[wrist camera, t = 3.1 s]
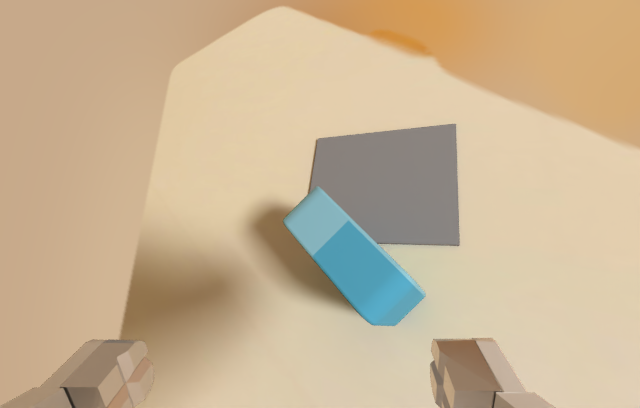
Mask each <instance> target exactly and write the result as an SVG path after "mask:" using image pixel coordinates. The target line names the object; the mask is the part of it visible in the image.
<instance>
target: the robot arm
mask: <svg viewBox="0 0 640 408" xmlns="http://www.w3.org/2000/svg"><path fill="white" fill-rule="evenodd" d="M431 352H432V355H433V358H434V361H433V362H432V363H431V364H430V378H431V387H432V391H433V396H434V399H435V403H436V404H437V405H438V406H439V407H440V408H555V407H554V406H553V405H551V404H550V403H548V402H547V401H545V400H544V399H543V398H541V397H540V396H538V395H537V394H535V393H528V392H527V391H526V389H525V387H524V386H523V384H522V383H521V381H520V379H519V378H518V376H517V374H516V373H515V371H514V370H513V368H512V366H511V365H510V363H509V362H508V360H507V358H506V357H505V355H504V354H503V352H502V350H501V349H500V347H499V345H498V344H497V342H496V341H495V340H494V339H492V338H472V339H433V341H432V347H431ZM147 353H148V349H147V346H146V344H145V342H143V341H140V340H91V341H88V342H86V343H85V344H84V345H83V346H82V347H81V348H80V349H79V350H78V351H76V353H74V354H73V355H72V357H70V358H69V359H68V360H67V361H66V362H65V363H64V364H63V365H62V366H61V367H60V368H59V369H58V370H57V371H56V372H55V373H54V374H53V375H52V376H51V377H50V378H49V379H48V380H47V381H46V382H45V383H44V384H42V385H41V386H40V387H39V388H32V389H31V390H29V391H27V392H25V393H23V394H22V395H20V396H18V397H16V398H14V399H12V400H11V401H9V402H7V403H5V404H3V405H1V406H0V408H135V406H137V405H138V404H139V403H141V402H142V401H143V400H145V398H146V397H147V395H148V393H149V392H150V390H151V387H152V384H153V380H154V368H153V364H152V363H151V362H150V361H149V360H148V359H147V358H146V357H145V356H146V354H147Z"/></svg>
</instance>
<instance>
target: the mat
mask: <svg viewBox="0 0 640 408" xmlns="http://www.w3.org/2000/svg"><path fill="white" fill-rule="evenodd" d="M316 186H319V187H320V188H321V189H322V190H323V191H324V192H325V193H326V194H327V195H328V196H329V197H330V198H331V199H332V200H333V201H334V202H335V203H336V204H338V205H339V206H340V207H341V208H342V209H343V210H344V211H345V212H346V213H347V214H348V215H349V216H350V217H351V218H352V219H353V220H354V221H355V222H356V223H357V224H358V225H359V226H360V227H361V228H362V229H363V230H364V231H365V232H366V233H367V234H368V235H369V236H370V237H371V238H372V239H373V240H374V241H375V242H376V243H377V244H412V245H449V246H459V213H458V181H457V149H456V124H448V125H439V126H430V127H421V128H411V129H402V130H393V131H384V132H375V133H365V134H356V135H347V136H338V137H328V138H319V139H318V141H317V148H316V154H315V161H314V168H313V174H312V181H311V187H310V192H311V191H312V190H313V189H314V188H315V187H316Z"/></svg>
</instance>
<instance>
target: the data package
mask: <svg viewBox="0 0 640 408" xmlns="http://www.w3.org/2000/svg"><path fill="white" fill-rule="evenodd" d="M283 223H284V225H285V226H286V227H287V229H288V230H289V231H290V232H291V234H292V235H293V236H294V237H295V238H296V239H297V241H298V242H299V243H300V244H301V245H302V247H303V248H304V249H305V250H306V251H307V253H308V254H309V255H310V256H311V257H312V259H313V260H314V261H315V262H316V263H317V265H318V266H319V267H320V268H321V269H322V271H323V272H324V273H325V274H326V275H327V276H328V278H329V279H330V280H331V281H332V282H333V284H334V285H335V286H336V287H337V288H338V290H339V291H340V292H341V293H342V294H343V296H344V297H345V298H346V299H347V300H348V302H349V303H350V304H351V305H352V306H353V307H354V309H355V310H356V311H357V312H358V313H359V314H360V315H361V316H362V317H363V318H364V319H365V320H366V321H367V322H369V323H370V324H372V325H381V326H395V325H397V324H398V323H399V322H400V321H401V320H402V319H403V318H404V317H405V316H406V315H407V314H408V313H409V312H410V311H411V310H412V309H413V308H414V307H415V306H416V305H417V304H418V303H419V302H420V301H421V300H422V299H423V298H424V297H425V296H426V294H425V292H424V291H423V290H422V289H421V288H420V286H419V285H418V284H417V283H416V282H415V281H414V280H413V279H412V278H411V277H410V276H409V275H408V274H407V273H406V272H405V271H404V270H403V269H402V268H401V267H400V266H399V265H398V264H397V263H396V262H395V261H394V260H393V259H392V258H391V257H390V256H389V255H388V254H387V253H386V252H385V251H384V250H383V249H382V248H381V247H380V246H379V245H378V244H377V243H376V242H375V241H374V240H373V239H372V238H371V237H370V236H369V235H368V234H367V233H366V232H365V231H364V230H363V229H362V228H361V227H360V226H359V225H358V224H357V223H356V222H355V221H354V220H353V219H352V218H351V217H350V216H349V215H348V214H347V213H346V212H345V211H344V210H343V209H342V208H341V207H340V206H339V205H338V204H336V203H335V202H334V201H333V200H332V199H331V198H330V197H329V196H328V195H327V194H326V193H325V192H324V191H323V190H322V189H321V188H320V187H319V186H316V187H315V188H314V189H313V190H312V191H311V192H310V193H309V194H308V195H307V196H306V197H305V198H304V199H303V200H302V201H301V202H300V203H299V204H298V205H297V206H296V207H295V208H294V209H293V210H292V211H291V212H290V213H289V214H288V215H287V216H286V217H285V218H284V219H283Z"/></svg>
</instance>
